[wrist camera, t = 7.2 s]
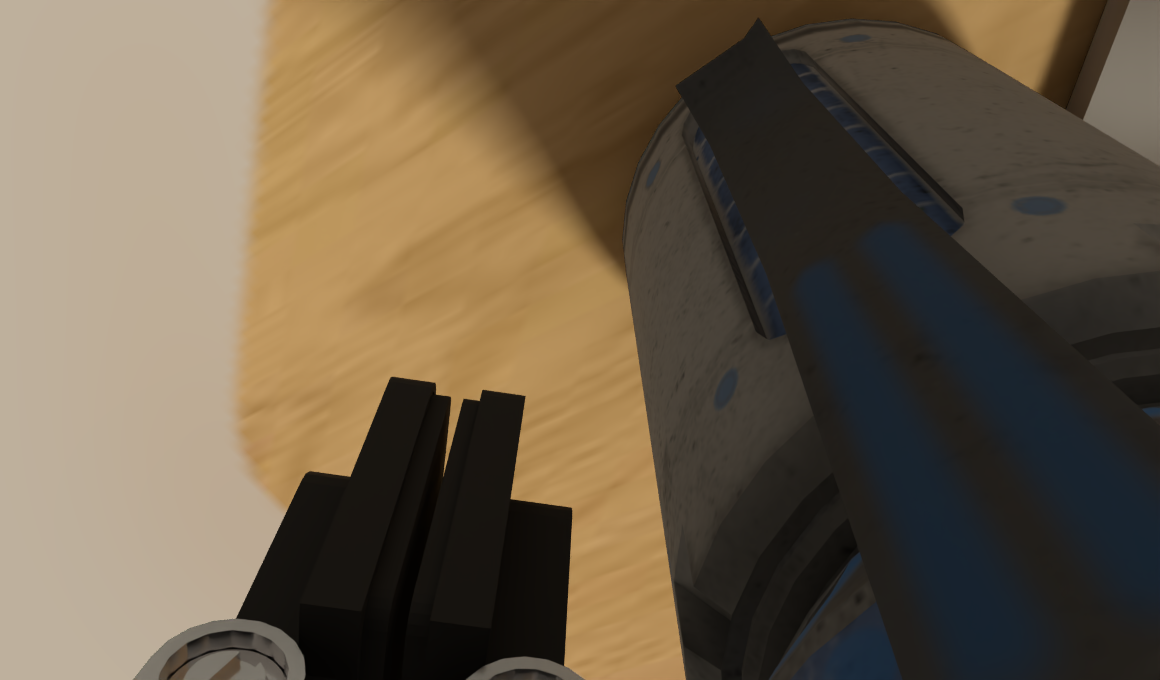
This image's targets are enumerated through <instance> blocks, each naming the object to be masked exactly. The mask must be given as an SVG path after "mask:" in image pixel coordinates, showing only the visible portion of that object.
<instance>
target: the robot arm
mask: <svg viewBox="0 0 1160 680" xmlns="http://www.w3.org/2000/svg"><path fill="white" fill-rule="evenodd" d="M524 403H525V396H522V395H515V394H508V393H501V392H494V391H487V390H482V394H481V398H480V401H476V400H469V399H463V403H462V407H461V411H460V414H459V418H458V422H457V426H456V430H455V434H454V438H453V442H452V445H451V449H450V453H449V457H448V461H447V465H446V469H445V473H444V463H445V454H446V445H447V435H448V426H449V416H450V406H451V397H448V396H441V395H436V384H435V383H432V382H425V381H418V380H411V379H404V378H398V377H391V378H390V380H389V382H388V385H387V387H386V390H385V392H384V395H383V397H382V400H381V402H380V404H379V407H378V409H377V412H376V414H375V417H374V419H373V422H372V424H371V427H370V429H369V432H368V434H367V437H366V439H365V442H364V444H363V447H362V449H361V452H360V454H359V457H358V459H357V462H356V464H355V467H354V469H353V472H352V474H351V477H348V476H340V475H333V474H326V473H319V472H312V471H309V472H308V473H306V474H305V476H304V478H303V479H302V481H301V483H300V485H299V487H298V489H297V491H296V493H295V495H294V498H293V500H292V502H291V504H290V506H289V508H288V510H287V512H286V514H285V517H284V519H283V521H282V523H281V525H280V527H279V529H278V531H277V534H276V536H275V538H274V540H273V542H272V544H271V546H270V548H269V550H268V552H267V555H266V557H265V559H264V561H263V563H262V565H261V567H260V569H259V571H258V573H257V576H256V578H255V580H254V582H253V584H252V586H251V588H250V591H249V592H248V594H247V597H246V599H245V601H244V603H243V605H242V607H241V609H240V611H239V614H238V615H237V618H236V619H229V620H219V621H212V622H208V623H206V624H202V625H199V626H196V627H192V628H189V629H187V630H186V631H184V632H182V633H180V634H179V635H177V636H175V637H173V638H172V639H170V640H168V641H167V642H166V643H165V644H164V645H163V646H162V647H161V648H160V649H159V650H158V651H157V652H156V653H155V654H154V655H153V656H151V658H150V659H149V660H148V661H147V663H146V664H145V665H144V666H143V668H142V669H141V670H140V672H139V673H138V674H137V675H136V677H135V678H134V679H133V680H584V679H583V678H582V677H580V676H579V675H577V674H576V673H575V672H573V671H572V670H571V669H569V668H567V667H565V666H564V658H565V639H566V621H567V603H568V584H569V566H570V548H571V529H572V508H570V507H563V506H555V505H548V504H541V503H534V502H527V501H519V500H512V499H510V498H511V491H512V484H513V478H514V471H515V464H516V457H517V450H518V444H519V437H520V430H521V423H522V416H523V410H524ZM443 473H444V477H443Z"/></svg>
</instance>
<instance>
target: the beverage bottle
mask: <svg viewBox="0 0 1160 680" xmlns="http://www.w3.org/2000/svg"><path fill="white" fill-rule="evenodd" d="M676 88H677V90H678V91H679V93H680V95H681V97H682V98H681V99H680V100H679V101H678V103H677V104H676V105H675V106H674V107H673V109H672V110H671V111H670V112H669V113H668V115H667V116H666V117H665V118H664V120H663V121H662V122H661V123H660V124H659V126H658V128H657V129H656V131H655V133H654V135H653V137H652V139H651V140H650V142H649V144H648V146H647V148H646V150H645V151H644V153H643V155H642V157H641V159H640V161H639V162H638V165H637V168H636V172H635V175H634V178H633V181H632V184H631V188H630V191H629V194H628V197H627V200H626V209H625V219H624V229H623V239H622V240H623V249H624V258H625V267H626V276H627V282H628V289H629V296H630V303H631V309H632V316H633V323H634V330H635V337H636V343H637V350H638V357H639V364H640V370H641V377H642V384H643V391H644V398H645V404H646V411H647V418H648V425H649V432H650V438H651V445H652V452H653V459H654V466H655V472H656V479H657V486H658V493H659V500H660V506H661V513H662V520H663V527H664V534H665V540H666V547H667V554H668V561H669V568H670V574H671V581H672V588H673V595H674V602H675V608H676V615H677V622H678V629H679V636H680V642H681V649H682V656H683V663H684V670H685V676H686V680H1160V166H1159V165H1157V164H1155V163H1154V162H1152V161H1150V160H1149V159H1147V158H1145V157H1144V156H1142V155H1140V154H1139V153H1137V152H1135V151H1134V150H1132V149H1130V148H1129V147H1127V146H1125V145H1124V144H1122V143H1120V142H1119V141H1117V140H1115V139H1114V138H1112V137H1110V136H1109V135H1107V134H1105V133H1104V132H1102V131H1100V130H1099V129H1097V128H1095V127H1094V126H1092V125H1090V124H1088V123H1087V122H1085V121H1083V120H1082V119H1080V118H1078V117H1077V116H1075V115H1073V114H1072V113H1070V112H1068V111H1067V110H1065V109H1063V108H1062V107H1060V106H1058V105H1057V104H1055V103H1053V102H1052V101H1050V100H1048V99H1047V98H1045V97H1043V96H1042V95H1040V94H1038V93H1037V92H1035V91H1033V90H1032V89H1030V88H1028V87H1027V86H1025V85H1023V84H1022V83H1020V82H1018V81H1017V80H1015V79H1013V78H1012V77H1010V76H1008V75H1007V74H1005V73H1003V72H1002V71H1000V70H998V69H997V68H995V67H993V66H992V65H990V64H988V63H987V62H985V61H983V60H982V59H980V58H978V57H977V56H975V55H973V54H972V53H970V52H968V51H967V50H965V49H963V48H961V47H959V46H958V45H956V44H954V43H952V42H951V41H949V40H947V39H945V38H943V37H942V36H940V35H938V34H936V33H933V32H929V31H926V30H922V29H919V28H916V27H912V26H909V25H905V24H902V23H898V22H893V21H879V20H865V19H844V20H837V21H829V22H822V23H814V24H807V25H803V26H800V27H797V28H794V29H791V30H789V31H786V32H783V33H780V34H777V35H774V36H771V35H770V34H769V32H768V31H767V29H766V28H765V26H764V25H763V24H762V22H761V21H760V19H759V18H758V19H757V20H756V22H755V23H754V25H753V26H752V28H751V29H750V30H749V32H748V33H747V35H746V36H745V37H744V39H742V40H741V41H739V42H738V43H737V44H735V45H734V46H732V47H731V48H729V49H728V50H726V51H725V52H724V53H722V54H721V55H719V56H718V57H716V58H715V59H713V60H712V61H711V62H709V63H708V64H706V65H705V66H703V67H702V68H700V69H699V70H698V71H696V72H695V73H693V74H692V75H690V76H689V77H688V78H686V79H685V80H683V81H682V82H680V83H679V84H677V85H676Z"/></svg>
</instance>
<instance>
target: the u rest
mask: <svg viewBox="0 0 1160 680" xmlns="http://www.w3.org/2000/svg"><path fill="white" fill-rule="evenodd" d="M1066 110H1067V111H1068V112H1070V113H1072V114H1073V115H1075V116H1077V117H1078V118H1080V119H1082V120H1083V121H1085V122H1087V123H1088V124H1090V125H1092V126H1094V127H1095V128H1097V129H1099V130H1100V131H1102V132H1104V133H1105V134H1107V135H1109V136H1110V137H1112V138H1114V139H1115V140H1117V141H1119V142H1120V143H1122V144H1124V145H1125V146H1127V147H1129V148H1130V149H1132V150H1134V151H1135V152H1137V153H1139V154H1140V155H1142V156H1144V157H1145V158H1147V159H1149V160H1150V161H1152V162H1154V163H1155V164H1157V165H1159V166H1160V0H1108V1H1107V4H1106V6H1105V9H1104V11H1103V14H1102V17H1101V19H1100V22H1099V25H1098V27H1097V30H1096V32H1095V35H1094V38H1093V40H1092V43H1091V46H1090V48H1089V51H1088V53H1087V56H1086V59H1085V61H1084V64H1083V66H1082V69H1081V72H1080V74H1079V77H1078V80H1077V82H1076V85H1075V87H1074V90H1073V93H1072V95H1071V98H1070V100H1069V103H1068V106H1067V108H1066Z"/></svg>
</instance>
